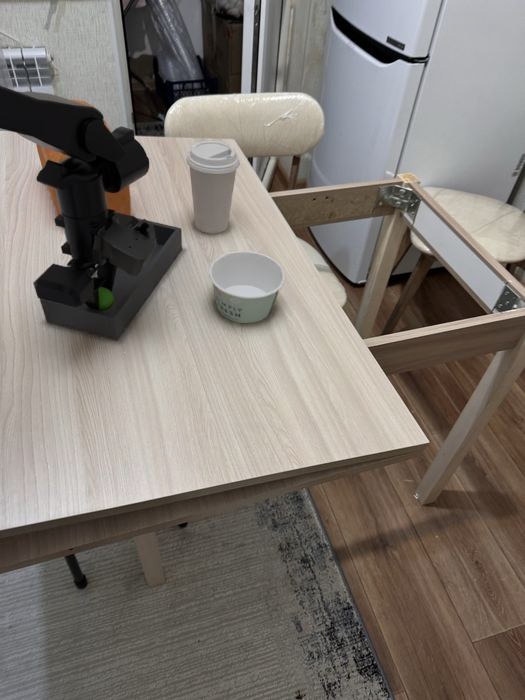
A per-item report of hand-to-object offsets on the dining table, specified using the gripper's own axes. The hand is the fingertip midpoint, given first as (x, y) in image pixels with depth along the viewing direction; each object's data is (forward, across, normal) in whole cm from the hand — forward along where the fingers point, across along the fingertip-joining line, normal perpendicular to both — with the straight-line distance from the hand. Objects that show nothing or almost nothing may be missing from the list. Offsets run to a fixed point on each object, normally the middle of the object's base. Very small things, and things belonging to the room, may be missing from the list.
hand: (101, 302), depth 72 cm
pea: (+1, 0, 0) cm, 1 cm away
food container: (+4, +12, -19) cm, 23 cm away
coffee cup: (+4, +32, -6) cm, 33 cm away
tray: (+4, +10, +2) cm, 10 cm away
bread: (+4, +33, +21) cm, 39 cm away
